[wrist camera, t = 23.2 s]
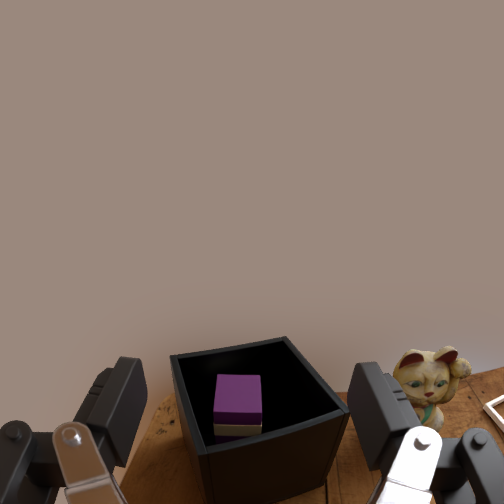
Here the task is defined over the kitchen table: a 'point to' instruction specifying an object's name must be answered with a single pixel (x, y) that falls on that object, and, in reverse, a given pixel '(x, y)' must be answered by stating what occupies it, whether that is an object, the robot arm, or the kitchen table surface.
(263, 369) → the waste bin
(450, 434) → the kitchen table surface
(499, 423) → the photo frame
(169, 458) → the kitchen table surface
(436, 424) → the decorative figurine
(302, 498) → the kitchen table surface
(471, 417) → the kitchen table surface
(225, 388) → the chocolate bar
